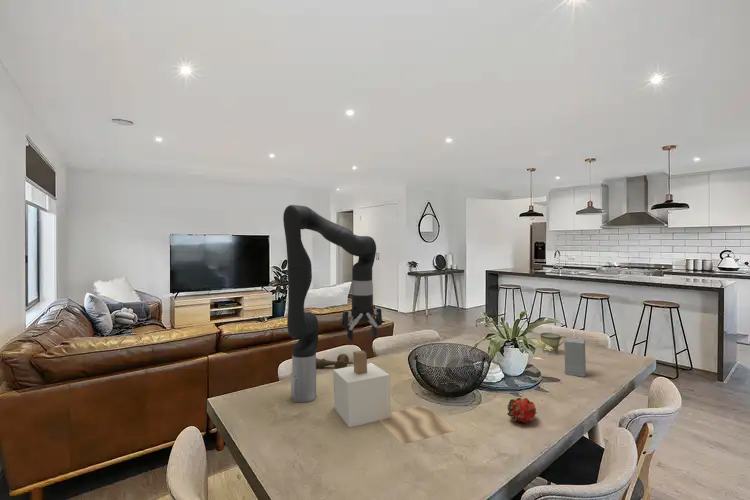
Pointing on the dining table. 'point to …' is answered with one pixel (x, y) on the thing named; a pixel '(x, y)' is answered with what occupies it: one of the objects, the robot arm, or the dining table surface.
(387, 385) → the white cube with peg
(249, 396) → the dining table surface
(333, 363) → the kendama
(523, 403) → the dragon fruit
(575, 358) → the skincare box
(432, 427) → the mat
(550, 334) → the ceramic cup
